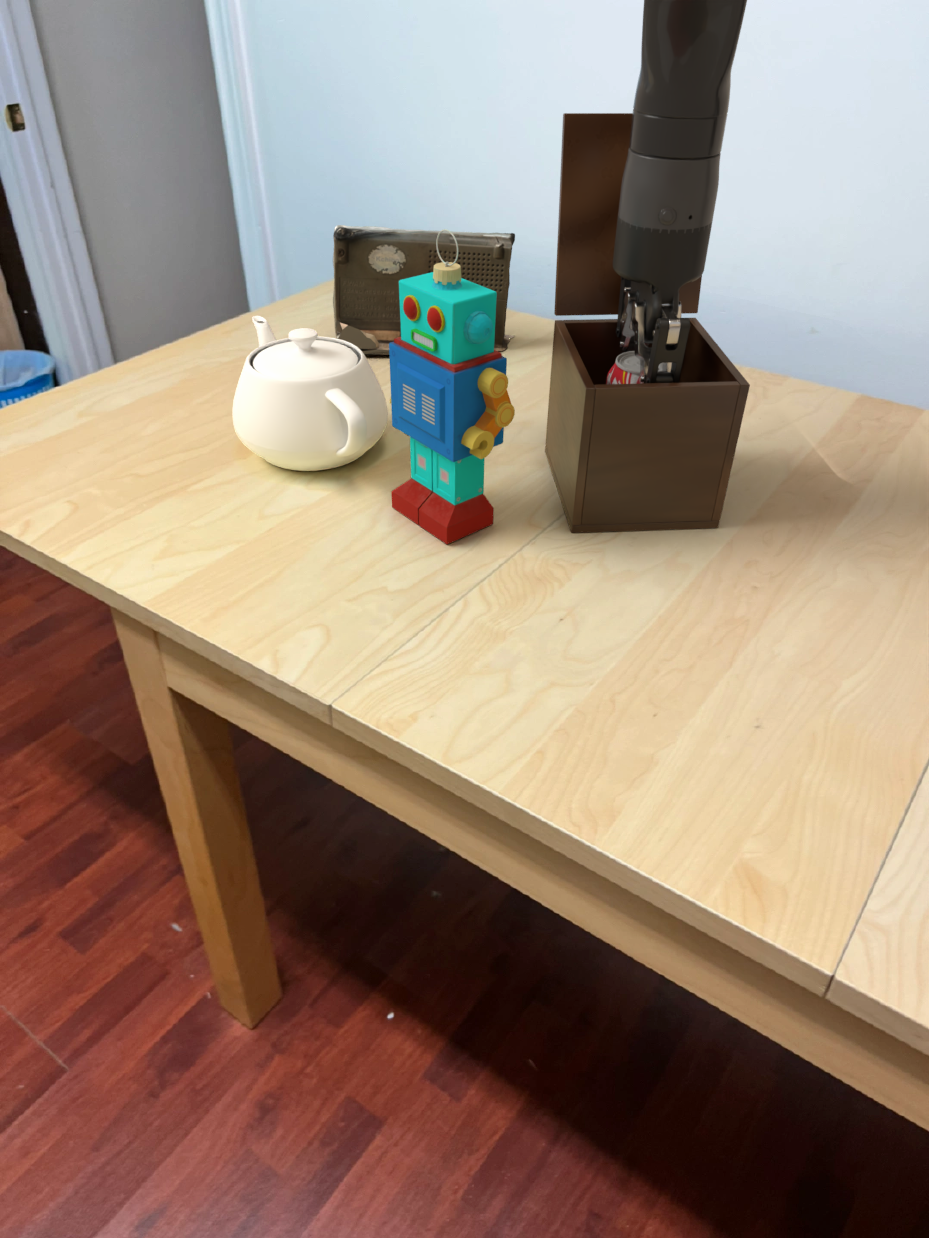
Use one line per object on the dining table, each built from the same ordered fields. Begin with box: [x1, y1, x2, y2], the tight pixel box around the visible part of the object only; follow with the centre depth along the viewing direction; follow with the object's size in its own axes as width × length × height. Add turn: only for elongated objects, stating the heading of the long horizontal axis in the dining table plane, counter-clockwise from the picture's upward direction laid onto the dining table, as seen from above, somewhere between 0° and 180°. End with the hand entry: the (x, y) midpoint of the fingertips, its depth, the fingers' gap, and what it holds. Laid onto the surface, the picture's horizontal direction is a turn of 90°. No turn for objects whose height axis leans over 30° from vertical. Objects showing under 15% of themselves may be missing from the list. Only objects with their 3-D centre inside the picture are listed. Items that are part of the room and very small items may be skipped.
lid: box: [553, 112, 703, 317], centre depth 81 cm, size 16×14×1 cm
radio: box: [332, 224, 516, 356], centre depth 110 cm, size 23×9×15 cm, turn 90°
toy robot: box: [389, 228, 516, 545], centre depth 75 cm, size 12×6×25 cm, turn 40°
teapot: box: [231, 315, 389, 472], centre depth 90 cm, size 25×16×12 cm, turn 32°
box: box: [544, 317, 751, 534], centre depth 83 cm, size 16×14×14 cm
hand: (638, 406), depth 82 cm, fingers open, 6 cm apart
